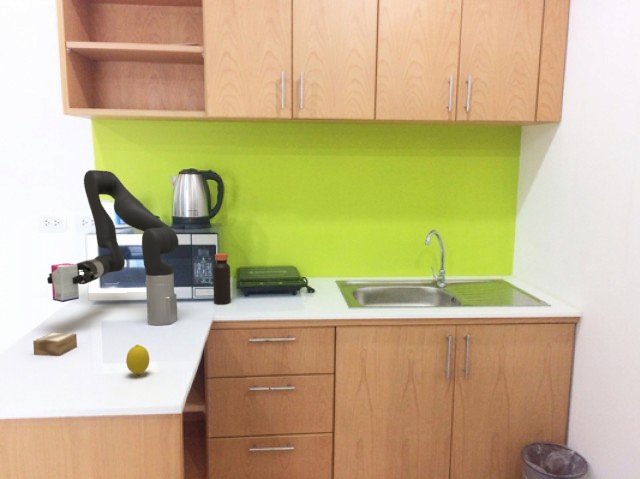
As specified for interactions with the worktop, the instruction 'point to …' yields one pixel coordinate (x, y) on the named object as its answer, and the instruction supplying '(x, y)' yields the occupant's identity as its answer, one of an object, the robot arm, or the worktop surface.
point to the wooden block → (55, 344)
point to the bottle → (221, 280)
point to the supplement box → (64, 282)
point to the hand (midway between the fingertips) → (61, 280)
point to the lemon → (137, 359)
